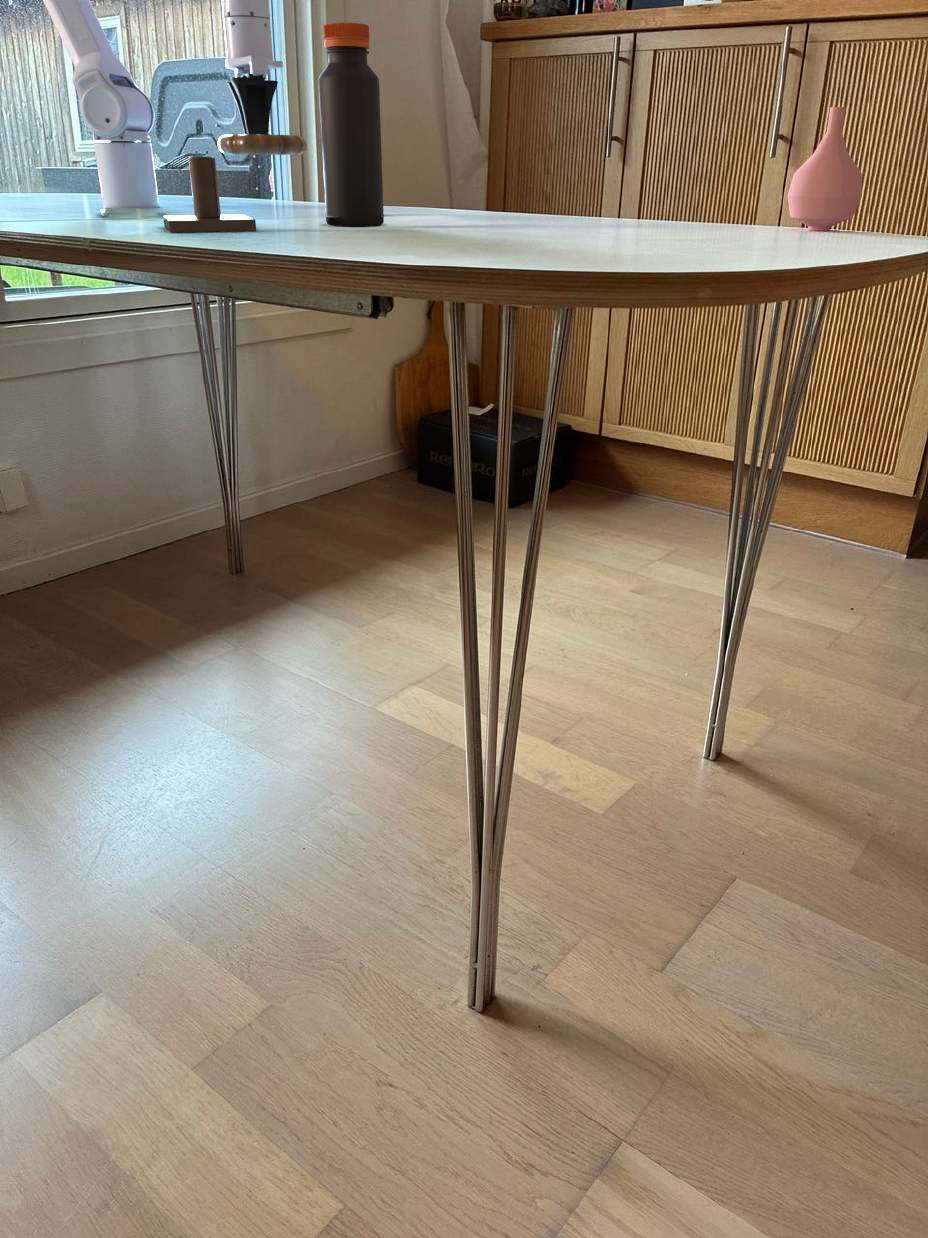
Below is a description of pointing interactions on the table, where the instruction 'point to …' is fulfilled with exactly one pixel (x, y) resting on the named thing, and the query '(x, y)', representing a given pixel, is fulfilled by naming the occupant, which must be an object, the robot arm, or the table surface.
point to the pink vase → (826, 181)
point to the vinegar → (350, 129)
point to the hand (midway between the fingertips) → (256, 142)
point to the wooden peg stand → (206, 204)
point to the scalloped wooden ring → (262, 144)
